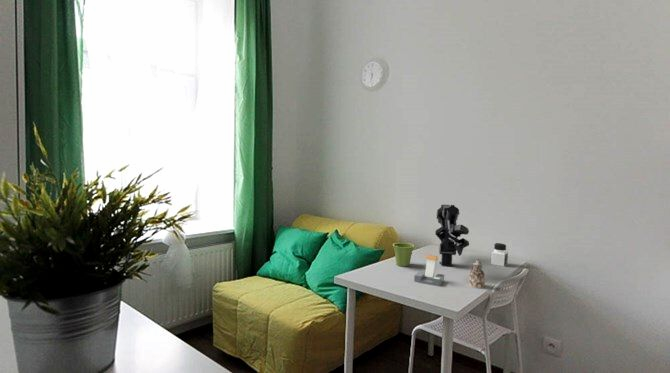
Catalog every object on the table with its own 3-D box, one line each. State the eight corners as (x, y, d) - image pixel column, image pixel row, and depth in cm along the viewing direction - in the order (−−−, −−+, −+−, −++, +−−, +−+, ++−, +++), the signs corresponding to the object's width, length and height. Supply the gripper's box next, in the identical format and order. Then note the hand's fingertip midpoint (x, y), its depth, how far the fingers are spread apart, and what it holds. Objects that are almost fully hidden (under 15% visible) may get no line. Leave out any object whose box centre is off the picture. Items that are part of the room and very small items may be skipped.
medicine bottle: (504, 266, 208) (505, 245, 207) (490, 264, 212) (492, 243, 211) (507, 264, 213) (508, 243, 212) (494, 261, 218) (495, 241, 217)
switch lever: (425, 276, 183) (428, 255, 185) (434, 278, 180) (437, 256, 183) (423, 275, 180) (426, 254, 183) (433, 277, 178) (436, 255, 180)
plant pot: (412, 262, 213) (413, 242, 212) (414, 268, 201) (415, 247, 200) (391, 261, 214) (392, 242, 213) (392, 267, 202) (393, 246, 201)
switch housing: (420, 276, 188) (420, 270, 187) (444, 280, 181) (444, 274, 181) (414, 281, 180) (414, 274, 180) (439, 286, 174) (439, 279, 173)
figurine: (466, 286, 175) (467, 260, 174) (470, 281, 181) (471, 257, 180) (482, 289, 171) (484, 263, 170) (486, 285, 177) (487, 260, 176)
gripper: (450, 211, 188) (452, 236, 178) (475, 227, 194) (479, 252, 184) (434, 221, 196) (435, 246, 185) (459, 236, 202) (461, 261, 191)
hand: (453, 251), depth 186 cm, fingers open, 9 cm apart
